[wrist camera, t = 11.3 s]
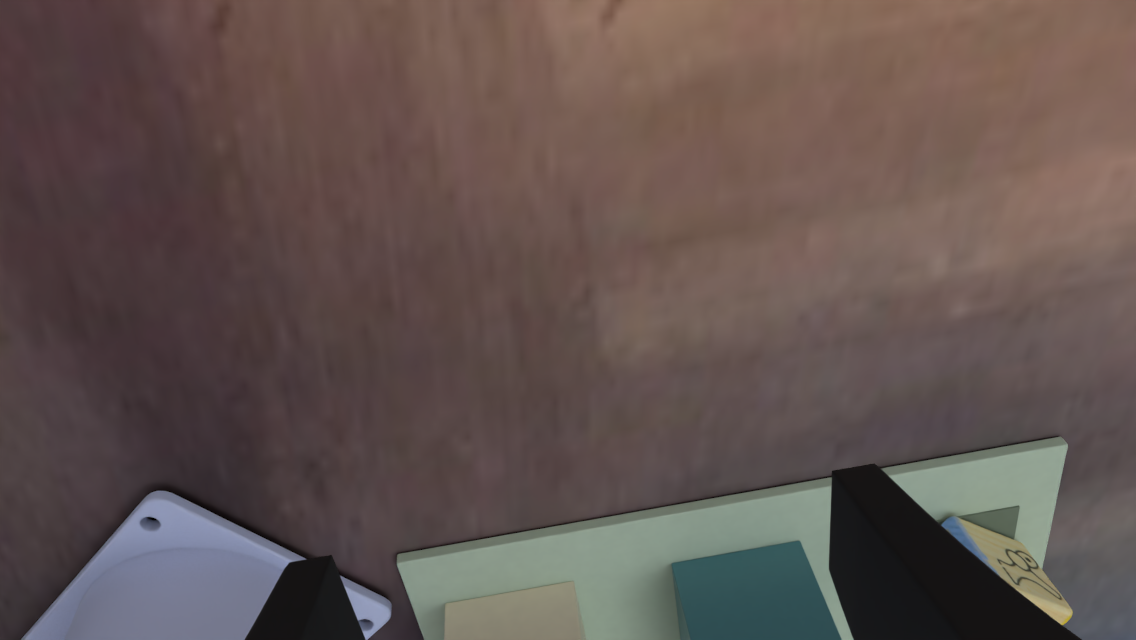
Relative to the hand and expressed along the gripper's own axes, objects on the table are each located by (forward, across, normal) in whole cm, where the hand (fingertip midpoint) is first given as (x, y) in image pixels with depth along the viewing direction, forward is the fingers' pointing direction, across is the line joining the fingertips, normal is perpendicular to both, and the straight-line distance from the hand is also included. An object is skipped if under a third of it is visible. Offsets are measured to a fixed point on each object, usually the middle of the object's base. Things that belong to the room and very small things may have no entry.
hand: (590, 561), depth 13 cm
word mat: (+10, -4, +13) cm, 17 cm away
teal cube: (+10, -4, +13) cm, 17 cm away
